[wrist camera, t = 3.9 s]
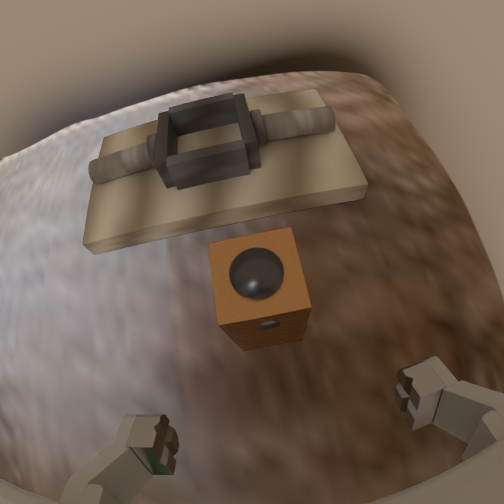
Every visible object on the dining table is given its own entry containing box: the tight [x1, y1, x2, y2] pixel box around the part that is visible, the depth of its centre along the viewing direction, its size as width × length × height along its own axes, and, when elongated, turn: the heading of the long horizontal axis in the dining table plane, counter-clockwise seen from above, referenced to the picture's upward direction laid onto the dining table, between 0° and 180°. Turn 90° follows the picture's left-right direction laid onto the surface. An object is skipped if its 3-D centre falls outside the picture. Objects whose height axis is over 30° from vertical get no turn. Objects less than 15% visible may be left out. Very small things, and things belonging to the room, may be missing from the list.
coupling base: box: [83, 89, 368, 255], centre depth 25 cm, size 24×14×5 cm, turn 100°
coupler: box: [208, 227, 311, 351], centre depth 17 cm, size 4×4×8 cm
